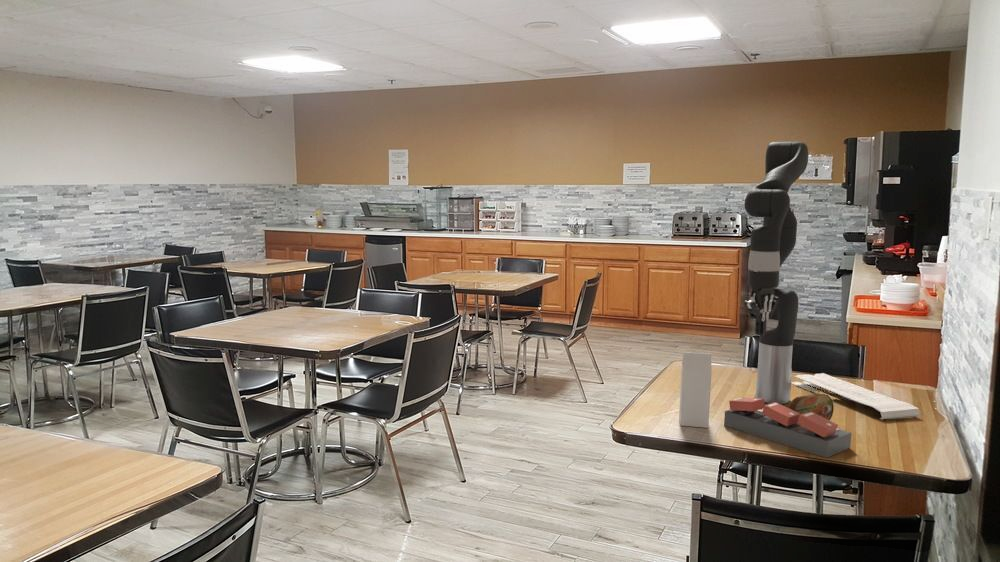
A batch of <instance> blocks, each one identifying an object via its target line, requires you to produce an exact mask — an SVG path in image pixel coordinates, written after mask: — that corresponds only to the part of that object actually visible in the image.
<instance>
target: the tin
mask: <svg viewBox="0 0 1000 562" xmlns="http://www.w3.org/2000/svg"><path fill="white" fill-rule="evenodd" d="M833 401H834V400H832V399H831V398H830V397H829V396H828V395H825V394H818V393H817V394H815V393H812V394H807V395H802V396H801V395H800V396H797V397H794V398H793V399H792V400H791V401H790V403H789V404H788V407H787V408H789V409H791V410H793V411H795V412H797V413H800V415H801V414H804V413H807V412H810V411H811V412H813V413H815V414H818V415H820V416H822V417H824V418H826V419H828V420H830V421H831V419H832V417H833V414H834V407H835V406H834V402H833Z"/></svg>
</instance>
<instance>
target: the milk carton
mask: <svg viewBox="0 0 1000 562" xmlns="http://www.w3.org/2000/svg"><path fill="white" fill-rule="evenodd" d="M682 355H683V356H682V361H681V362H682V363H681V376H680V393H679V394H680V395H679V412H678V413H679V414H678V419H679V425H680V426H682V427H692V428H693V427H694V428H706V429H707V428H709V421H710V404H711V388H712V386H711V385H712V353H705V352H704V353H703V352H689V351H688V352H687V351H683V353H682Z"/></svg>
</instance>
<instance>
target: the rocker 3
mask: <svg viewBox="0 0 1000 562" xmlns="http://www.w3.org/2000/svg"><path fill="white" fill-rule="evenodd" d="M797 424H799V425H801V426H803V427H804V428H806V429H808V430H810V431H812V432H814V433H816V434H818V435H820V436H822V437H827V436H830V435H832V434H835V432H836V429H837V428H838V425H839V424H838V423H836V422H833V421H832V420H831V419H830V420H828V419H826V418H824V417H822V416H820V415H818V414H815V413H813V412H811V411H810V412H807V413H804V414H801V415H800V416H799V420H798V423H797Z"/></svg>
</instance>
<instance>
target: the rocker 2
mask: <svg viewBox="0 0 1000 562" xmlns="http://www.w3.org/2000/svg"><path fill="white" fill-rule="evenodd" d="M762 414H763V415H765V416H767V417H769V418H771V419H773V420H775V421H777V422H779V423H781V424H783V425H785V426H789V425H792V424H795V423H798V420H799V416H800V413H797V412H795V411H793V410H791V409H789V408H788V407H787V406H785V405H784V404H779V403H776V402H774V403H766V404H765V405H764V408H763V412H762Z"/></svg>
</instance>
